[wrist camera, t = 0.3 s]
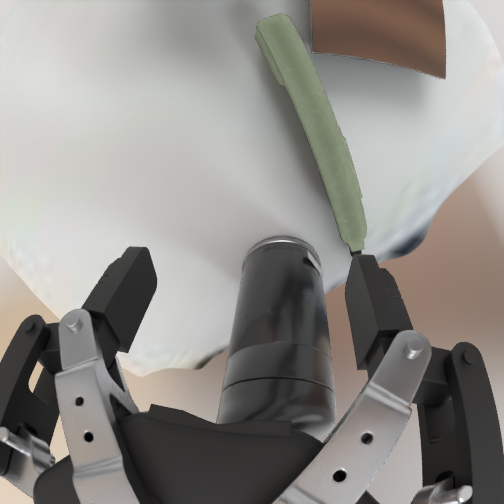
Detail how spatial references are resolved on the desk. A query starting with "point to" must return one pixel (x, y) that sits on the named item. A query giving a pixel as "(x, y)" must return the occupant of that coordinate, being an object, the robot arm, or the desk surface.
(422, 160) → the desk surface
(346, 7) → the stand
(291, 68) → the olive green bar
